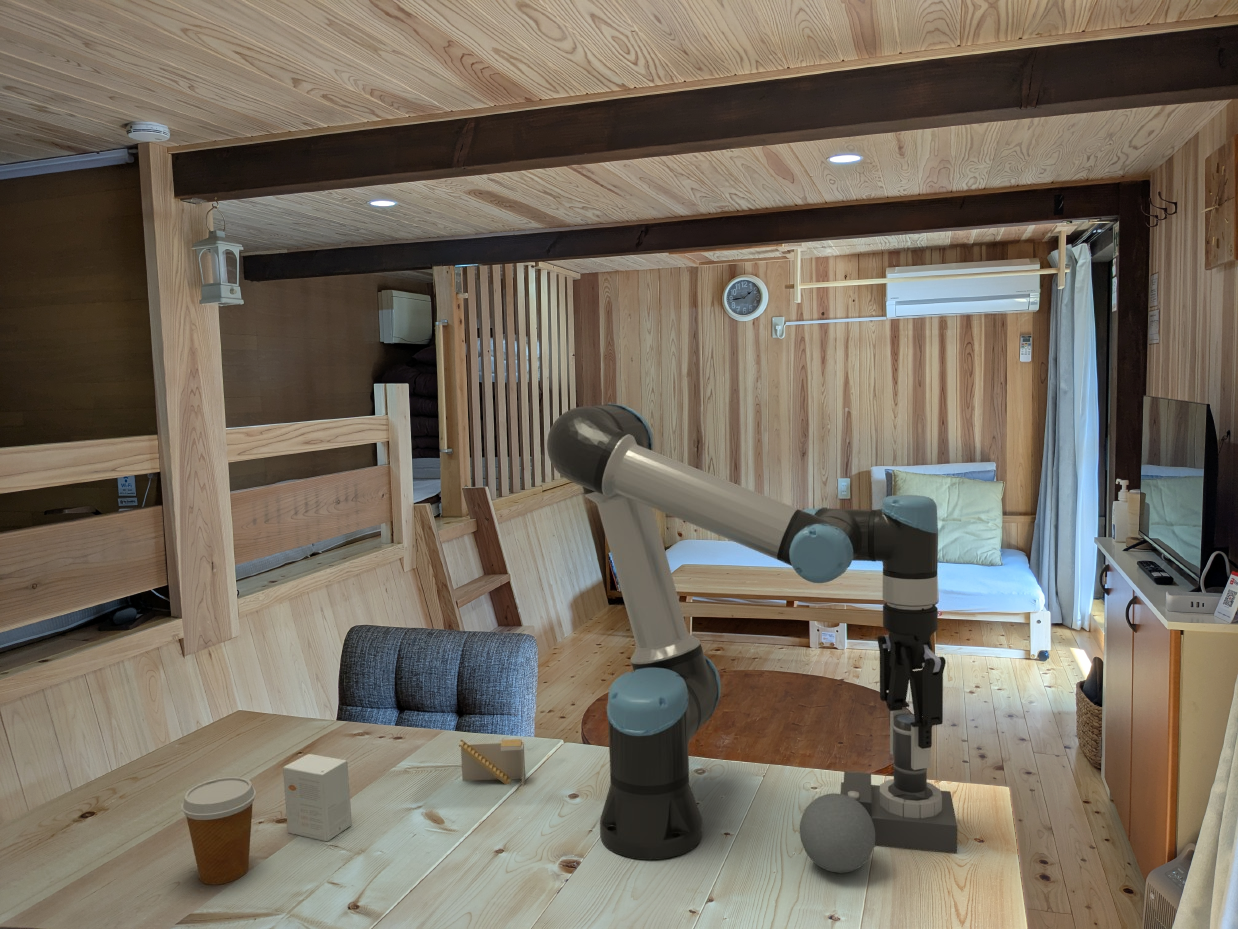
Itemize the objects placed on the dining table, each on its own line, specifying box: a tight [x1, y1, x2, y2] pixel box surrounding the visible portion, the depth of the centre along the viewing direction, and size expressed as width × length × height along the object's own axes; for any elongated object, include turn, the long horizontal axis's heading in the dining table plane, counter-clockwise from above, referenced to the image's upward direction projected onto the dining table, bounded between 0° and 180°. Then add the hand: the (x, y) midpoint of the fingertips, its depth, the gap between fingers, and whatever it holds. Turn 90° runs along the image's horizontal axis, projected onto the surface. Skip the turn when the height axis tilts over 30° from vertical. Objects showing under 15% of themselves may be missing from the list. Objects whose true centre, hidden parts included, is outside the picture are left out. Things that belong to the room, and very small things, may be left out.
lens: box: [892, 713, 928, 793], centre depth 132 cm, size 5×5×10 cm
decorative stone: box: [799, 793, 876, 874], centre depth 123 cm, size 10×10×10 cm
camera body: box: [839, 771, 958, 854], centre depth 134 cm, size 16×11×7 cm
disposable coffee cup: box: [180, 776, 257, 885], centre depth 127 cm, size 10×10×12 cm
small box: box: [282, 753, 353, 842], centre depth 139 cm, size 8×6×10 cm
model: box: [458, 738, 526, 786], centre depth 154 cm, size 3×11×8 cm, turn 92°
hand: (910, 760), depth 133 cm, fingers closed on lens, 5 cm apart
